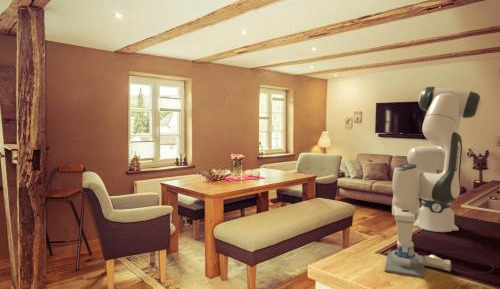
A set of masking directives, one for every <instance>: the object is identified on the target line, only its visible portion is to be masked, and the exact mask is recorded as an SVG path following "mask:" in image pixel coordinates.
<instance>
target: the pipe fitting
mask: <svg viewBox="0 0 500 289" xmlns="http://www.w3.org/2000/svg"><path fill="white" fill-rule="evenodd" d="M423 265H424V267H427V266H428V267H430V268H434V269H439V270H442V271H445V272H449V273H450V272H451V270H452V261H451V260H449V259H442V258H441V257H438V256H437V255H435V254H430V255H426V254H425V255H424V256H423Z"/></svg>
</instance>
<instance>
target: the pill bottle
mask: <svg viewBox="0 0 500 289" xmlns="http://www.w3.org/2000/svg"><path fill="white" fill-rule="evenodd" d="M414 246H415V244H414V242H413V241H412V240H411V243H410V245H408V252H407V253H406V252H402V244H400V243H399V241H398V240H397V241H396V250H397V256H399V257H404V258H412V257H414V253H415V251H414Z"/></svg>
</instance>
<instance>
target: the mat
mask: <svg viewBox="0 0 500 289" xmlns="http://www.w3.org/2000/svg"><path fill="white" fill-rule="evenodd" d="M391 255H392V251H388V252H387V257H386V262H385V267H384V272H385V273H390V274H397V275H402V276H403V275H404V276H409V277H416V278H422V279H424V278H425V268H424V267H425V266H424V265H423V259H424V256H423V255H419V254H418V266H417V267H412V268H408V267H401V266H398V265H396V264H394V263H392V262H391Z"/></svg>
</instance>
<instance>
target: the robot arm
mask: <svg viewBox="0 0 500 289" xmlns="http://www.w3.org/2000/svg"><path fill="white" fill-rule="evenodd" d="M481 106H482V100H481V95H480V94H479V93H477V92H474V91H467V90H463V89H458V88H453V87H452V88H449V87H435V86H426V87H425V88H423V89H422V90H421V93H420V94H419V95H418V108H420V110H421V111H423V112H424V111H425V112H426V113H425V116H424V120H423V123H422V128H421V131H422V133H423V135H424V137H425V139H426V140H428V141H429V142H431V143H432V144H434V145H421V146H416V147H412V148H410V149H409V150H408V152H407V155H406V156H407V157H406V160H407V163H402V164H401V163H400V164H398V165H396V166H395V167H394V169H393V174H392V180H391V181H392V183H391V184H392V186H391V188H392V194H393V195H392V196H393V197H392V200H391V203H392V204H391V214H392V216H393V217H394V221H396V223H395V224H396V231H397V232H396V233H397V241H399V243H400V244H402V252H406V253H407V252H408V245H410V243H411V241H412V238H413V232H414V227H417V228H420V229H422V230H426V231H430V232H437V233H438V232H439V233H447V232H449V233H450V232H452V231H459V227H458V226H457V225H456V224H455V212H454V211H453V210H452V209H451V204H452V203H453V202H455V201H456V200H458V198H459V197H460V194H461V168H463V167H465V165H466V164H467V162H468V159H469V158H468V156H469V155H468V153H467V151H466V150H465V149H464V148H463V140H462V136H461V135H460V134H459V132H458V131H459V130H460V129H459V128H460V125H461V124H460V123H461V119H471V118H473V117H475V116H476V115H477V113H479V111H480V110H481ZM438 170H443V171H442V172H440V173H438ZM420 199H421V207H420Z"/></svg>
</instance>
